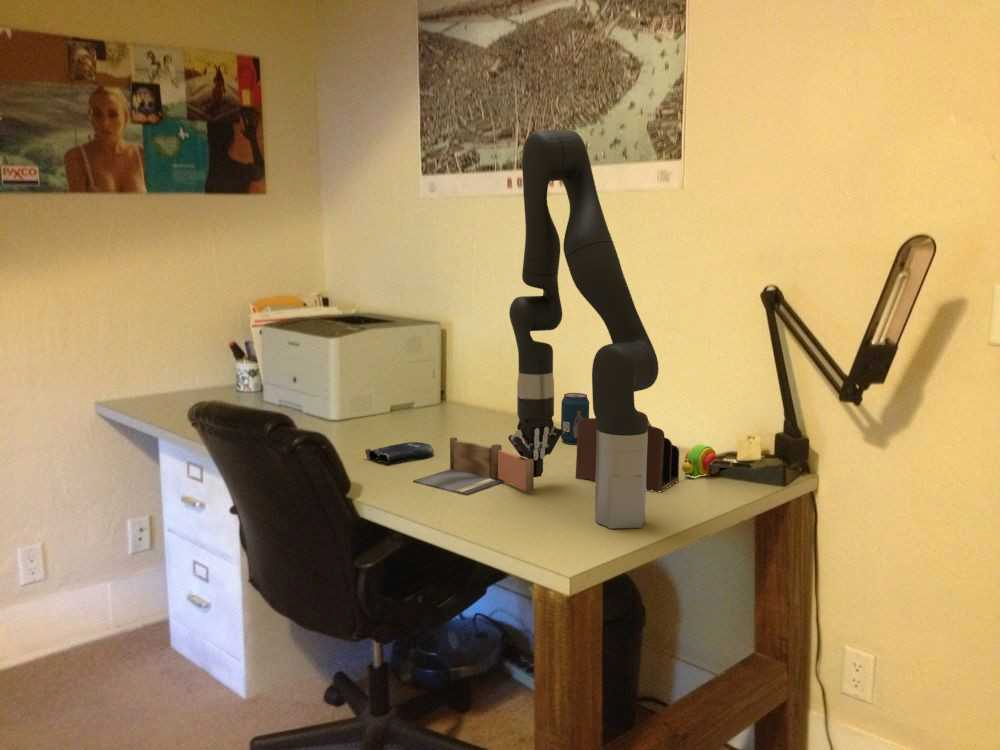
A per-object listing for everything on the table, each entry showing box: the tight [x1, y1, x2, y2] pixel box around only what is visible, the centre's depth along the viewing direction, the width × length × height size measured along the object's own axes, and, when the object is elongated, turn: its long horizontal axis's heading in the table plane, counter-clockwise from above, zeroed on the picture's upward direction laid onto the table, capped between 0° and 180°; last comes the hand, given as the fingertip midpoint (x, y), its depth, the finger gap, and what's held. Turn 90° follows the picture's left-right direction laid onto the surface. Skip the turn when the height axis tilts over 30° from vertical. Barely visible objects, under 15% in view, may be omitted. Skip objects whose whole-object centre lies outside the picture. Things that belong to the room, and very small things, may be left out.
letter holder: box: [575, 417, 680, 492], centre depth 194 cm, size 10×20×14 cm, turn 58°
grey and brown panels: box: [413, 437, 507, 496], centre depth 194 cm, size 16×15×8 cm
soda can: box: [560, 392, 590, 445], centre depth 228 cm, size 7×7×12 cm
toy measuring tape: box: [681, 444, 718, 477], centre depth 202 cm, size 6×20×7 cm, turn 131°
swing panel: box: [498, 449, 535, 492], centre depth 188 cm, size 12×2×6 cm, turn 34°
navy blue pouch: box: [364, 441, 435, 466], centre depth 213 cm, size 9×6×15 cm
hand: (535, 476), depth 189 cm, fingers closed
